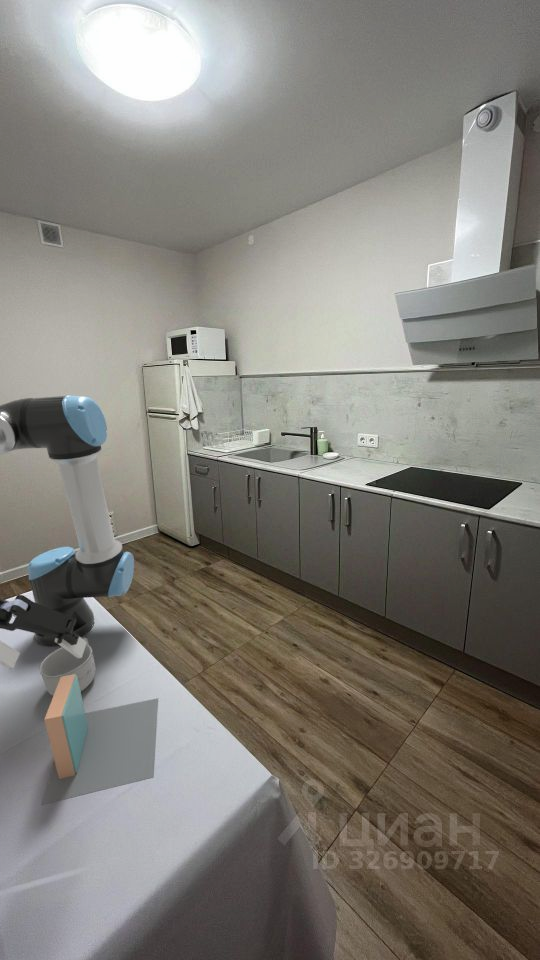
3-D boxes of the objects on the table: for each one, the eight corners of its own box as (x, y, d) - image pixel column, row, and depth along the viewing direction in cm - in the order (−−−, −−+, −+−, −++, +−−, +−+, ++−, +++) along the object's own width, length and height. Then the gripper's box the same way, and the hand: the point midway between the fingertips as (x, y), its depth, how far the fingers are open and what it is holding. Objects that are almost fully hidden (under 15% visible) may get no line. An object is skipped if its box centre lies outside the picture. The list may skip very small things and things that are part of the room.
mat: (69, 718, 83) (69, 716, 83) (158, 700, 86) (158, 698, 86) (41, 807, 66) (41, 804, 66) (154, 779, 69) (153, 777, 69)
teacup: (77, 708, 85) (71, 677, 83) (34, 702, 88) (27, 672, 85) (114, 663, 99) (109, 635, 96) (76, 658, 101) (70, 631, 99)
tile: (73, 730, 79) (60, 676, 76) (88, 727, 80) (77, 673, 76) (59, 778, 70) (44, 719, 66) (76, 774, 70) (63, 715, 67)
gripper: (-137, 630, 55) (-24, 687, 69) (17, 601, 51) (105, 668, 65) (-101, 583, 61) (-3, 644, 75) (41, 554, 57) (117, 624, 71)
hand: (48, 655), depth 70 cm, fingers open, 13 cm apart
